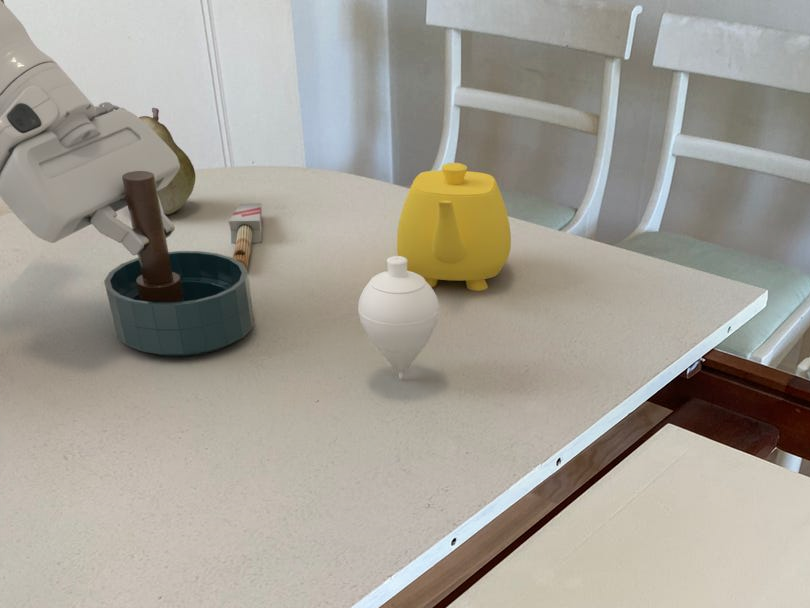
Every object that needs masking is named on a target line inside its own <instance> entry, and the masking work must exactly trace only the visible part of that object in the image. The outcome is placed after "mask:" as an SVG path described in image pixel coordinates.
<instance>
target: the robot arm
mask: <svg viewBox="0 0 810 608" xmlns="http://www.w3.org/2000/svg"><path fill="white" fill-rule="evenodd" d="M179 169H180V164H179V161H178V158H177V156H176V154H175V153H174V152H173V151H172V150H171V148H170V147H169V146H168V145H167V144H166V143H165V142H164V141H163V140H162V139H161V138H160V137H159V136H158V135H157V134H156V133H155V132H154V131H153V130H152V129H151V128H150V127H149V126H148V125H146V124H145V123H144V122H143V121H142V120H141V119H140V118H139V116H137V115H136V114H135V113H133V112H131V111H129V110H127V109H126V108H125V107H120V106H118V105H115V104H112V102H109V101H104V102H101V103H99V104H98V105H96V106H95V105H94V103H92V101H91V100H90V99H89V98H88V97H87V95H86V94H84V93H83V91H82V90H81V89H80V88H79V87H78V85H76V84H75V82H74V81H73V80H72V79H71V77H70V76H69V75H68V74H67V73H66V72H65V71H64V70H63V69H62V68H61V66H60V65H59V64H58V63H57V62H56V61H55V60H54V59H53V58H52V57H50V56H49V55H47V54H46V53H44V52H43V51H42V50H40V48H39V47H38V46H37V45H36V44H35V43H34V42H33V40H32V39H31V37H30V35H29V33H28V32H27V29H26V28H25V26H24V24H23V23H22V22H21V21H20V20H19V18H18V17H17V16H16V15H15V14H14V13H13V12H12V10H11V9H10V8H9V7H8V6H7V5H6V3H5V1H4V0H0V198H1V200H2V201H3V202H4V204H5V205H6V206H7V207H8V209H10V210H11V212H12V213H13V214H14V215H15V216H16V217H17V218H18V219H19V221H20V222H21V223H22V224H23V225H24V226H25V227H26V228H27V229H28V230H29V231H30V232H31V233H32V234H33V235H34V236H35V237H37V238H39V239H41V240H43V241H45V242H48V243H51V244H55V243H57V242H59V241H61V240H63V239H65V238H67V237H69V236H70V235H73V234H74V233H76V232H79V231H80V230H82V229H84V228H87V227H88V226H90V225H92V226H93V227H94V228H95V229H96V231H98V233H100V234H101V235H104V236H105V237H108V238H110V239H111V240H113V241H115V242H117V243H119V244H121V245H122V246H123V247H124V248H125V249H126V250H127V251H128V252H129V253H130V254H131V255H132V256H138V254H139V253H141V252H142V251H144V250H145V249H146V247H147V246H148V245H149V239H148V238H147V237H146V236H145V235H143V232H142V231H141V230H140V229H139V228H138V227H137V228H135V229H132V227H130V226H129V225H128V224H126V223H125V222H124V221H121V220H120V219H118V218H117V216H118V213H117V212H118V211H120V210H122V209H125V208H126V207H128V204H127V200H126V195H125V190H124V185H123V180H122V176H123V175H124V174H126V173H128V172H133V171H147V172H151V173H153V174H154V177H155V182H156V188H157V191H158V190H160V189H162V188H164V187H166V186H167V185H168V184H169V183H170V182H171V180H172V179H173V178H174V176H175V175H176V174H177V172H178V171H179ZM158 198H159V196H158ZM159 204H160V209H161V215H162V220H163V225H164V231H165V236H166V239H168V238H169V237H171V235H172V234H173V233H174V231H175V229H176V227H175V224H174V223H173V221H171V220H170V219H169V217H168V216H166V215H167V214H164V211H163V208H162V205H161V202H160V199H159Z"/></svg>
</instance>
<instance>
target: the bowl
mask: <svg viewBox="0 0 810 608" xmlns="http://www.w3.org/2000/svg"><path fill="white" fill-rule="evenodd" d="M168 252H169V258H170V263H171V269H172V272H174V273H177V274H178V275H179V276H180V279H181V285H182V290H183V296H184V301H183V302H175V303H174V302H147V301H140V297H139V292H138V288H137V283H136V279H137V278H138V277H139V276H140V275H142V272H141V268H140V263H139V258H138V257H136V258H134V259H130V260H128V261H125V262H123V263H120V264H119V265H118V266H116V267H115V268H113V269H112V270H110V271H109V272H108V274H107V275H106V277H105V279H104V281H103V282H104V286H105V292H106V295H107V299H108V303H109V307H110V310H111V311H110V312H111V315H112V320H113V325H114V328H115V332H116V337H117V339H118V340H120V341H121V343H123V344H124V345H125V346H127V347H129V348H132V349H135V350H137V351H140V352H143V353H148V354H149V353H150V354H153V355H157V356H158V355H159V356H166V357H187V356H196V355H203V354H208V353H211V352H215V351H217V350H220V349H223V348H225V347H227V346H229V345H232V344H233V343H235V342H237V341H239V340H241V339H242V338H244V337H245V336H246V335H247V334H249V332H251V330H252V329H253V325H254V322H255V316H254V308H253V302H252V295H251V286H250V279H249V273H248V270H246V268H245V266H244V265H243V264H242V263H240V262H238V261H237V260H235V259H234V258H233V257H230V256H228V255H223V254H221V253H218V252H208V251H202V250H175V251H168Z"/></svg>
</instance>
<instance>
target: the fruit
mask: <svg viewBox="0 0 810 608" xmlns="http://www.w3.org/2000/svg"><path fill="white" fill-rule="evenodd" d="M151 112H152V116H150V115H149V116H148V115H142V116H138V118H140V119H141V120H142V121H143V122H144V123H145V124H146V125H148V126H149V127H150V128H151V129H152V130H153V131H154V132H155V133H156V134H157V135H158V136H159V137H160V138H161V139H162V140H163V141H164V142H165V143H166V144H167V145H168V146H169V147H170V148H171V150H172V151H173V152H174V153H175V154H176V156H177V158H178V161H179V164H180V169H179V171H178V172H177V174H176V175H175V176H174V178H173V179H172V180H171V182H170V183H169V184H168V185H167V186H166V187H164V188H162V189H160V190H158V191H157V193H158V196H159V199H160V202H161V205H162V208H163V211H164V214H165V215H171V214H173V213H175V212H176V211H178V210H180V209H181V208H183V206H185V204H186V202H187V201H188V199H189V198H190V196H191V195H192V193H193V191H194V187H195V183H196V171H195V168H194V164H193V163H192V161H191V159H190V158H189V156H188V155H187V154H186V152H185V151H184V150H183V149H181V148H180V147H179V146H178V145H177V144H176V142H175V140H174V138H173V135H172V133H171V132H170V131H169V129H168V127H166V125H164V124H163V123H161V122H159V120H160V119H159V117H160V116H159V113H160V109H159V108H156V107H152V108H151Z"/></svg>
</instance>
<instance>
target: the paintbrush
mask: <svg viewBox="0 0 810 608" xmlns="http://www.w3.org/2000/svg"><path fill="white" fill-rule="evenodd" d="M262 205H263V204H262V203H261V202H260V203H259V202H256V203H252V202H251V203H250V202H249V203H240V204H239V205H238V206H237V208H236V210H235V211H234V213H233V214H232V215H231V217H230V218H229V220H228V224H229V228H230V241H231V242H230V243H231V244H235V246H234V250H233V255H232V258H234V259H235V260H237V261H238V262H240V263H242V264H243V265H244V266H245V268H246V270H247V269H248V267H249V261H250V254H251V253H250V252H251V245H252V243H253V244H257V243H263V239H262V238H263V236H262V235H263V234H262V233H263V229H262V228H263V227H262V226H263V225H262V224H263V221H262V220H263V219H262V216H263V215H262V214H263V213H262V210H263V209H262ZM247 271H248V270H247Z"/></svg>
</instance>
